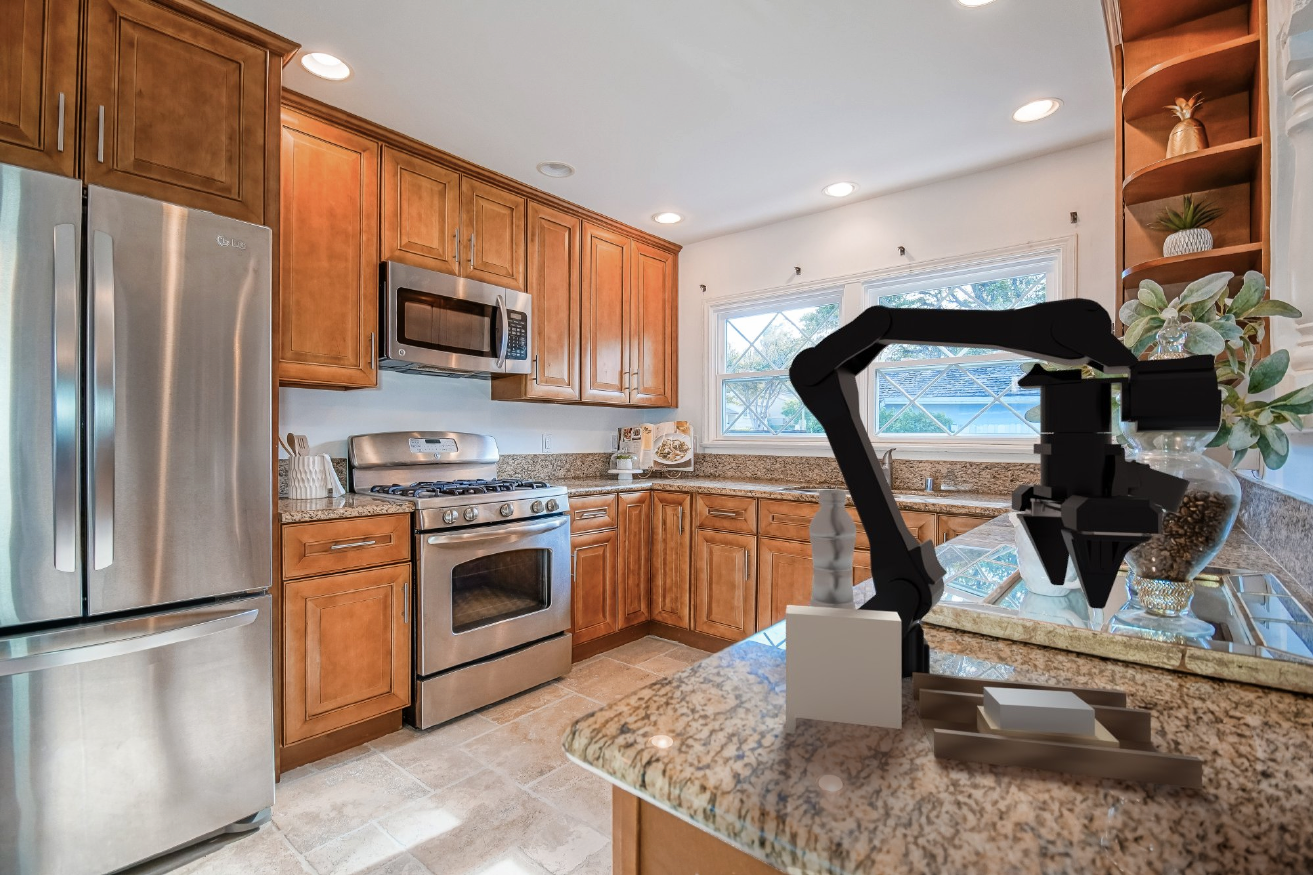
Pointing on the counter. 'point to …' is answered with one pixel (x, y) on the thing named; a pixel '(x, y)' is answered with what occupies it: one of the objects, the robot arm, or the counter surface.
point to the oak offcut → (1047, 733)
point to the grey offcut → (1039, 711)
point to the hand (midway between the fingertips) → (1075, 595)
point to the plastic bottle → (832, 552)
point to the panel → (843, 666)
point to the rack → (956, 737)
